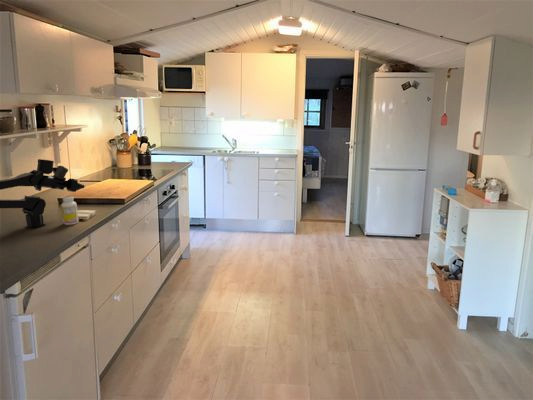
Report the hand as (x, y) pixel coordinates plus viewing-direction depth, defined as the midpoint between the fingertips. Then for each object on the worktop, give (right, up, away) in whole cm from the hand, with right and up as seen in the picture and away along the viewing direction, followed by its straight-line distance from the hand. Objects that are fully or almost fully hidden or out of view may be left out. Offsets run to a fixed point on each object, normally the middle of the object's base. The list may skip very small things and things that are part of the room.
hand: (78, 185), depth 223 cm
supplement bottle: (+2, -19, -12) cm, 22 cm away
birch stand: (+3, -16, -2) cm, 16 cm away
